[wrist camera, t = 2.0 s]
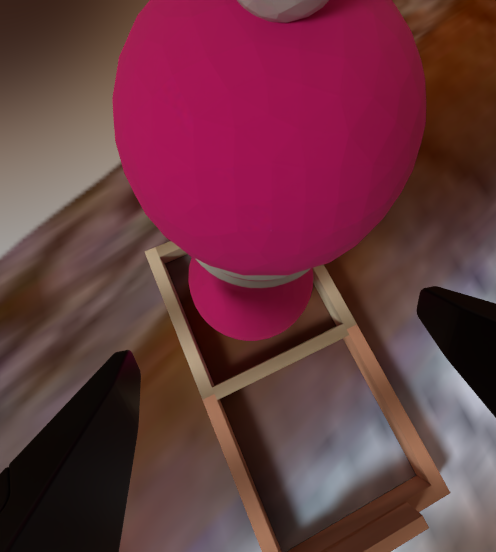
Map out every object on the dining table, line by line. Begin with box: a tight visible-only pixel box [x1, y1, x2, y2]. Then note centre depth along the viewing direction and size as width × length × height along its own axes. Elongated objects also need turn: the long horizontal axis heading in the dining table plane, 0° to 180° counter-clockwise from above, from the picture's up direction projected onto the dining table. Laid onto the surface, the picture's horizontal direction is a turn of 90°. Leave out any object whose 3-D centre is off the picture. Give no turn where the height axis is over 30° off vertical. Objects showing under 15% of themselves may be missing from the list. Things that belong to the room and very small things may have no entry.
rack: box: [145, 241, 450, 552], centre depth 19 cm, size 21×11×3 cm, turn 25°
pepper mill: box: [113, 0, 426, 341], centre depth 12 cm, size 7×7×20 cm
